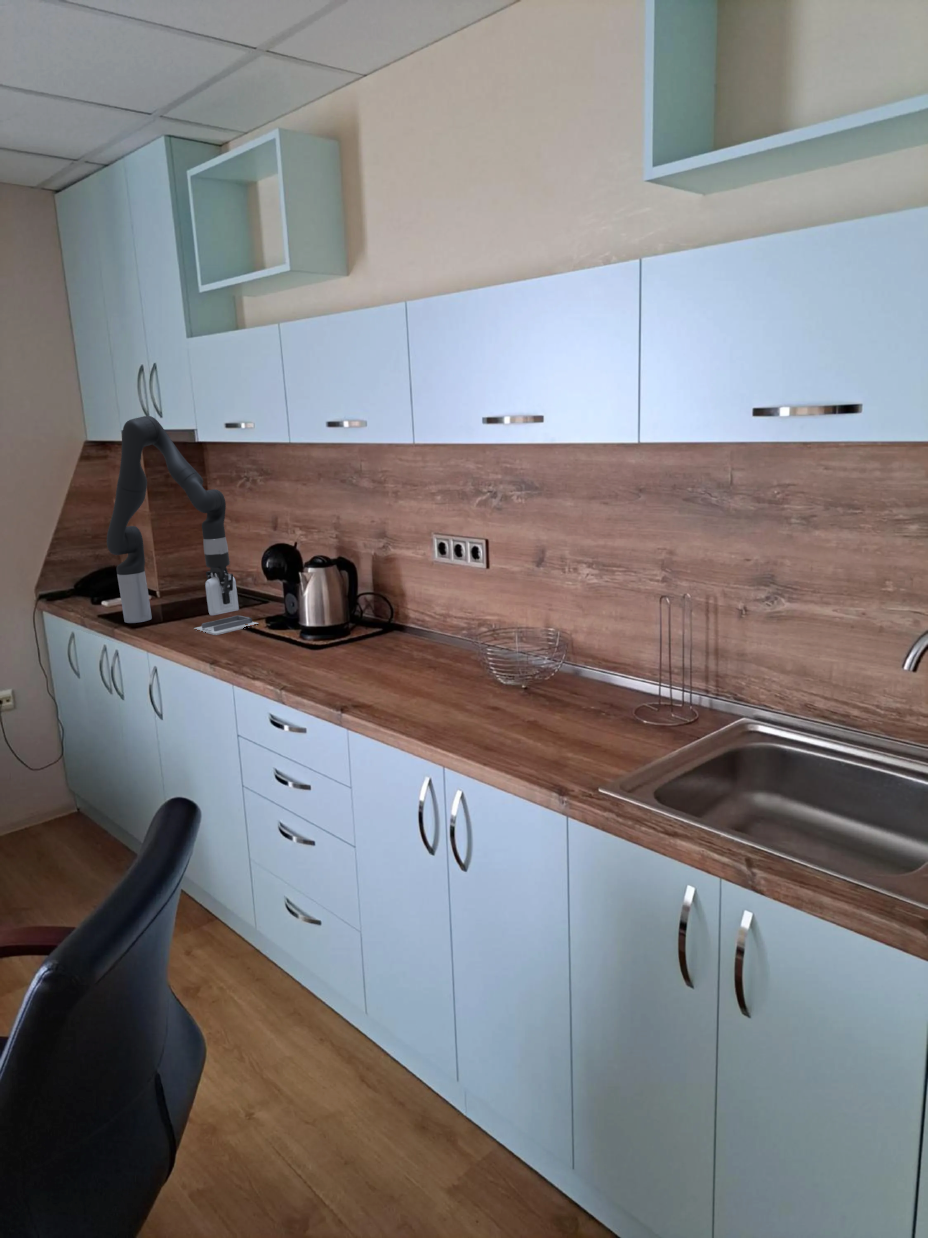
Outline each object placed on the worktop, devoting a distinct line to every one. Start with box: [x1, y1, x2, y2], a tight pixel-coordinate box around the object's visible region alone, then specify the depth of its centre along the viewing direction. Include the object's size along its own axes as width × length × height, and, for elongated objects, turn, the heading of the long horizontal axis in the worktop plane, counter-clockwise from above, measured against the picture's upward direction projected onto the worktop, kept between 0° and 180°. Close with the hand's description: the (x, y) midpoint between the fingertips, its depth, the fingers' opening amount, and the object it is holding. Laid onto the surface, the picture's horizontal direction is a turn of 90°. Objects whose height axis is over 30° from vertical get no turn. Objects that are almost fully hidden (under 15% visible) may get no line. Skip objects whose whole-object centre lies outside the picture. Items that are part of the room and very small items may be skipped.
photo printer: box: [204, 576, 240, 616], centre depth 296 cm, size 10×4×12 cm, turn 134°
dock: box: [193, 615, 260, 636], centre depth 298 cm, size 14×16×2 cm
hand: (223, 602), depth 296 cm, fingers closed on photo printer, 4 cm apart
